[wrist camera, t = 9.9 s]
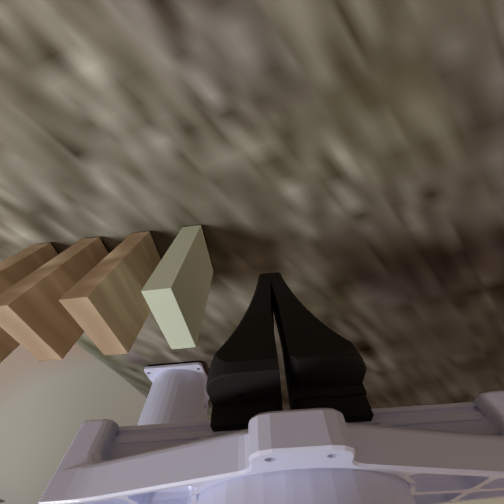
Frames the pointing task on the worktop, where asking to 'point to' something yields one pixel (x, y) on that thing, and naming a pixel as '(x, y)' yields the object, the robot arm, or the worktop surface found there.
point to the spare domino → (181, 288)
